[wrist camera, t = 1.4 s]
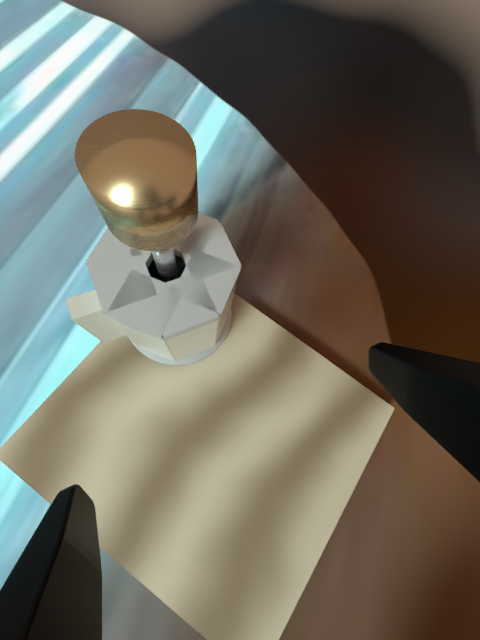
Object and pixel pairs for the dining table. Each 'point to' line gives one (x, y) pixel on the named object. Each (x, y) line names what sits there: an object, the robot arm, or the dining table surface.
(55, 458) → the birch board
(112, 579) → the dining table surface
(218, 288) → the white faceted container
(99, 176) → the plunger
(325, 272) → the dining table surface
